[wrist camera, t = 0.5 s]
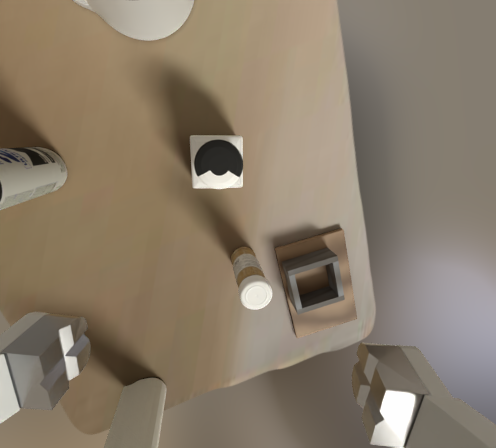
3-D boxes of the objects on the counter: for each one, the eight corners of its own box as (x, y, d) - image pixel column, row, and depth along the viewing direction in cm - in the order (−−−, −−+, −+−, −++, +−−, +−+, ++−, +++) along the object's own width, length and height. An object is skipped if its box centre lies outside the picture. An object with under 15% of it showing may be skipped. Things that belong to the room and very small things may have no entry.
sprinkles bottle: (244, 273, 52) (258, 316, 39) (225, 260, 50) (233, 300, 38) (260, 254, 51) (279, 292, 38) (241, 240, 50) (254, 274, 37)
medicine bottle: (191, 136, 44) (187, 134, 32) (237, 136, 45) (248, 134, 33) (194, 182, 46) (190, 195, 34) (237, 181, 47) (248, 193, 35)
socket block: (274, 248, 51) (281, 259, 46) (340, 228, 52) (354, 236, 47) (295, 335, 57) (304, 352, 53) (354, 315, 58) (368, 331, 54)
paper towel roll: (173, 388, 56) (156, 526, 36) (149, 405, 57) (120, 552, 37) (148, 367, 54) (115, 502, 34) (124, 385, 55) (77, 529, 34)
